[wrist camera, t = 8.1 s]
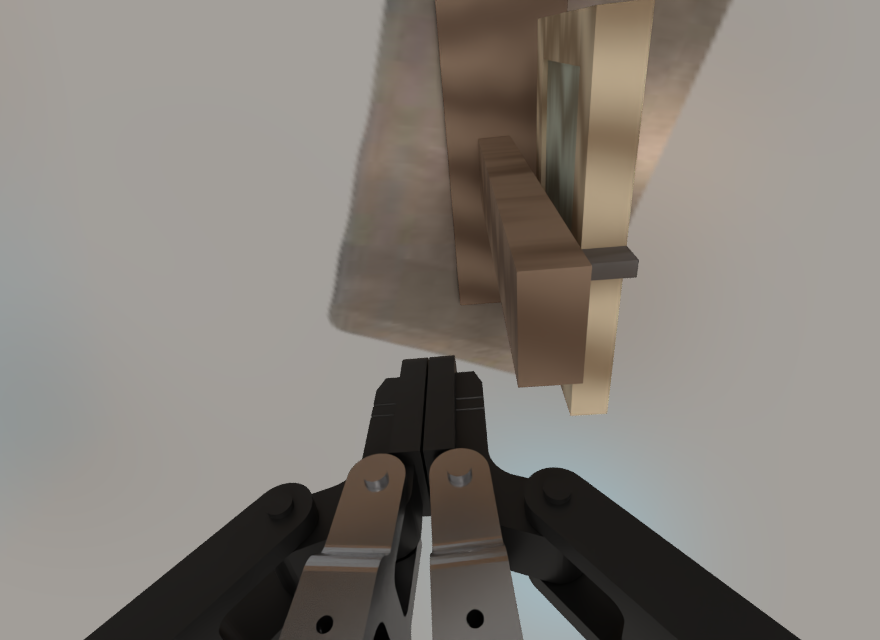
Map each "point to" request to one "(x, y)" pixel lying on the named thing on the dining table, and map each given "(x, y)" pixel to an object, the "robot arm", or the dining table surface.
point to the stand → (509, 188)
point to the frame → (594, 158)
